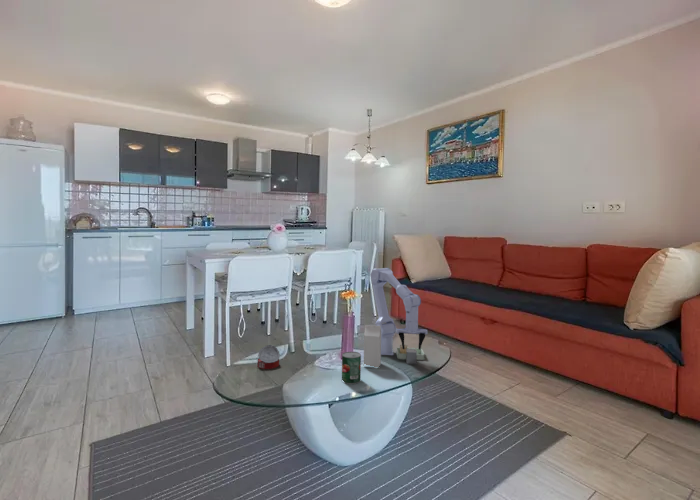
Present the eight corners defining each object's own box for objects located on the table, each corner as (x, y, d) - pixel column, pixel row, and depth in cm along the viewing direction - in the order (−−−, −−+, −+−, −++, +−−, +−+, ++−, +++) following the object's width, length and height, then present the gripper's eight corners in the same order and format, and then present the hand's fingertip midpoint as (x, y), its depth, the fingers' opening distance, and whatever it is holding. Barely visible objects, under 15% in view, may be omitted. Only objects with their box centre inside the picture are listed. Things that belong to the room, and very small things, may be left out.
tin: (406, 364, 173) (406, 351, 172) (405, 361, 177) (405, 348, 177) (416, 365, 172) (416, 352, 172) (415, 362, 177) (415, 349, 177)
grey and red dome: (278, 372, 173) (288, 354, 172) (267, 378, 164) (277, 359, 163) (260, 359, 177) (270, 341, 176) (248, 363, 167) (258, 344, 166)
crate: (397, 359, 180) (397, 353, 180) (396, 353, 190) (396, 347, 190) (424, 360, 179) (424, 354, 179) (421, 354, 189) (421, 348, 189)
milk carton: (379, 369, 166) (379, 327, 165) (363, 368, 168) (364, 326, 167) (380, 364, 173) (381, 324, 172) (365, 363, 174) (366, 323, 174)
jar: (400, 357, 183) (400, 346, 182) (399, 354, 186) (399, 344, 186) (407, 357, 182) (407, 346, 182) (406, 354, 186) (407, 344, 186)
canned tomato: (337, 380, 153) (338, 354, 152) (350, 375, 158) (350, 350, 158) (351, 385, 147) (352, 358, 147) (364, 380, 153) (364, 354, 153)
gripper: (397, 321, 171) (396, 350, 171) (428, 322, 170) (428, 351, 170) (396, 318, 178) (395, 346, 178) (426, 319, 177) (425, 347, 177)
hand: (411, 348), depth 175 cm, fingers open, 7 cm apart
